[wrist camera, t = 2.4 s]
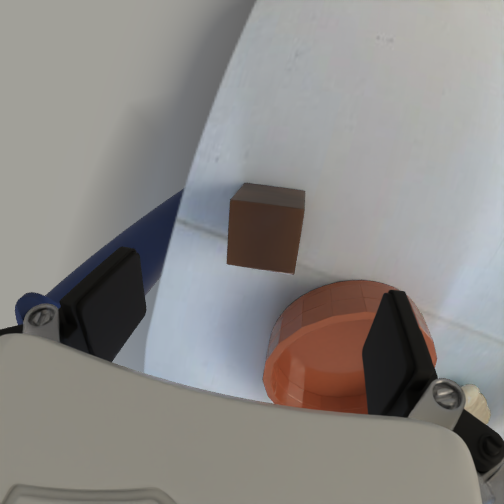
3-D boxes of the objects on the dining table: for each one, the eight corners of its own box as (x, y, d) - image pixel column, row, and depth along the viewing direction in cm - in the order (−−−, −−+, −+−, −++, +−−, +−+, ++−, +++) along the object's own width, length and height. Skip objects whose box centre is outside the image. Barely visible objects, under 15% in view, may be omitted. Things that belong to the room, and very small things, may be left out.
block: (240, 237, 24) (226, 264, 20) (244, 182, 22) (229, 199, 18) (296, 246, 24) (294, 275, 20) (305, 190, 22) (304, 209, 18)
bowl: (262, 385, 32) (255, 417, 28) (281, 267, 25) (275, 298, 21) (390, 398, 30) (394, 428, 26) (447, 291, 23) (465, 322, 19)
